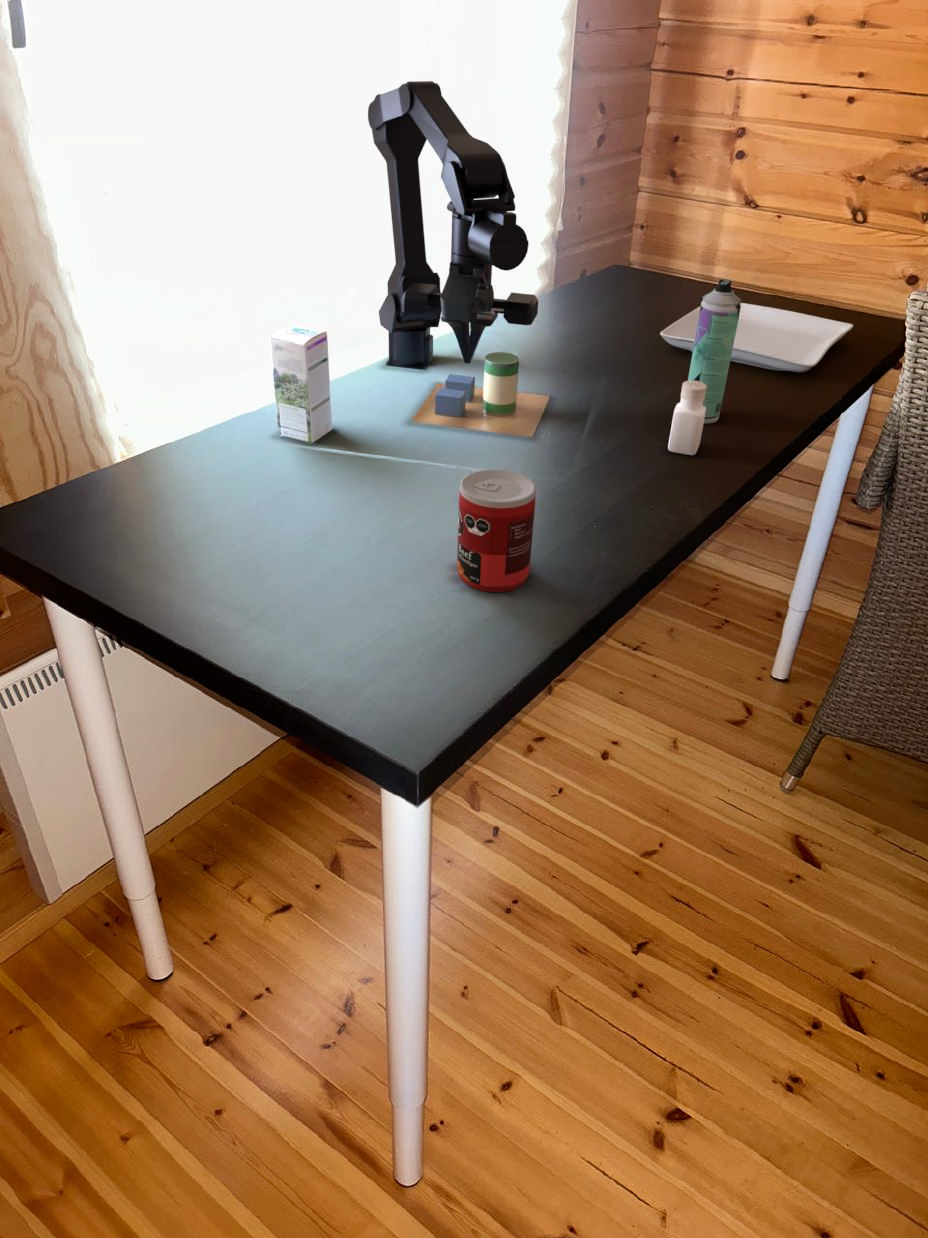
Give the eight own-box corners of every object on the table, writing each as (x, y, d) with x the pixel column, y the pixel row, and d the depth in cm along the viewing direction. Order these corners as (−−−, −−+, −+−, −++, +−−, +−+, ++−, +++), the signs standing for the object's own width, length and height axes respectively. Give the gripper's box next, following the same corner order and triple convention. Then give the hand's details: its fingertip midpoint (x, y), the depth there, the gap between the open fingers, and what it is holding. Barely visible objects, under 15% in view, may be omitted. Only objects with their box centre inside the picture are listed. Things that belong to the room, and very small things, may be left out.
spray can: (716, 410, 146) (742, 276, 134) (720, 424, 141) (748, 287, 130) (680, 407, 146) (703, 274, 135) (683, 422, 142) (707, 284, 130)
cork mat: (410, 423, 138) (410, 421, 138) (437, 384, 151) (437, 382, 150) (532, 439, 135) (532, 436, 135) (550, 398, 148) (550, 395, 147)
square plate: (850, 342, 175) (856, 321, 172) (808, 386, 155) (814, 363, 153) (709, 314, 186) (713, 293, 184) (654, 352, 167) (657, 330, 165)
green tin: (453, 385, 139) (499, 346, 134) (461, 373, 143) (506, 335, 138) (494, 432, 141) (540, 395, 137) (501, 419, 146) (546, 383, 141)
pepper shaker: (666, 452, 133) (677, 387, 127) (671, 441, 136) (682, 377, 130) (695, 457, 132) (707, 391, 126) (699, 446, 135) (711, 381, 129)
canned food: (454, 557, 107) (456, 469, 101) (523, 556, 108) (530, 468, 102) (459, 594, 101) (462, 502, 95) (533, 593, 102) (541, 502, 96)
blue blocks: (434, 414, 140) (434, 394, 138) (449, 392, 147) (449, 373, 145) (460, 417, 139) (461, 398, 138) (474, 395, 147) (475, 376, 145)
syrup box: (334, 430, 135) (329, 329, 127) (311, 446, 130) (304, 341, 122) (299, 422, 137) (292, 322, 128) (276, 437, 132) (267, 334, 124)
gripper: (389, 259, 125) (390, 374, 134) (528, 273, 122) (520, 389, 131) (412, 240, 134) (412, 349, 143) (542, 252, 131) (534, 362, 140)
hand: (467, 362), depth 139 cm, fingers closed
